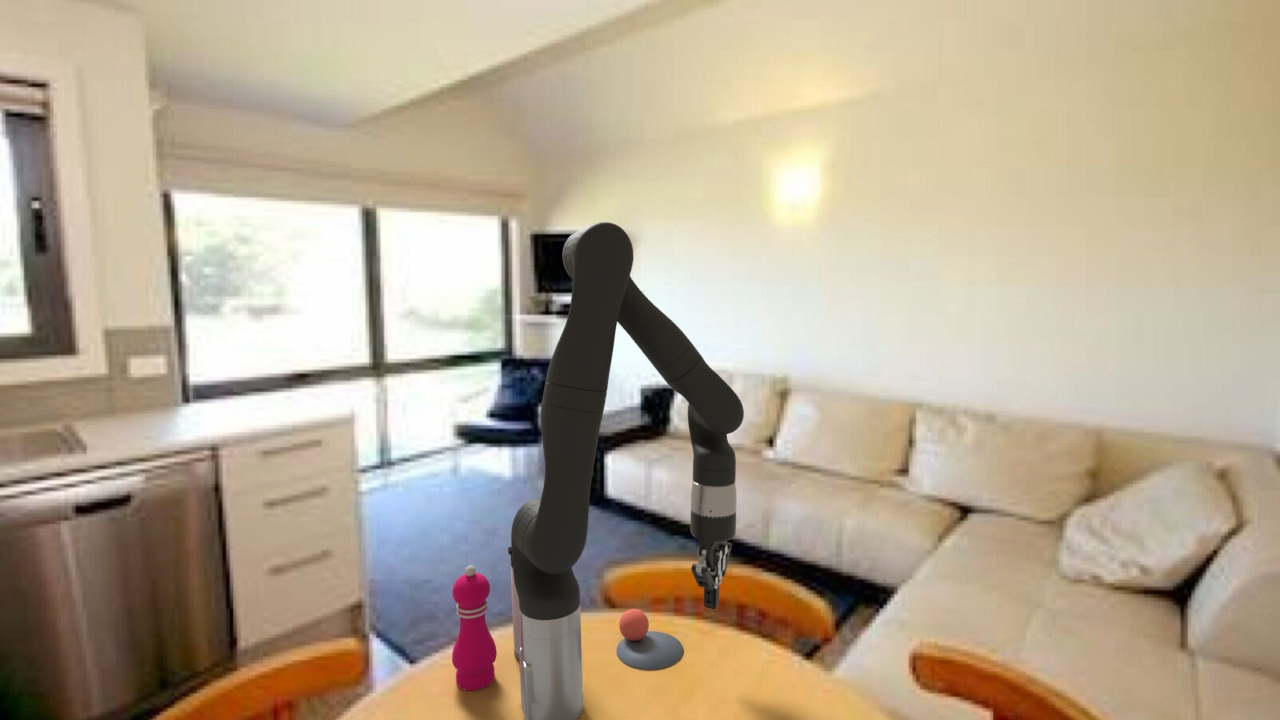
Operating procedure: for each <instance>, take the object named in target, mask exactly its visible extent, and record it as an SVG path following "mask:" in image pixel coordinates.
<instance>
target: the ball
mask: <svg viewBox="0 0 1280 720" xmlns="http://www.w3.org/2000/svg"><path fill="white" fill-rule="evenodd" d="M649 626H650V623H649V619H648V616H647V615H646V613H644V612H643V611H642V610H640V609H637V608H630V609H627V610H626V611H625V612H623V613H622V615H621V616H620V618H619V624H618V627H619V631H620V634H621V635H622V636H623V637H624V638H626V639H628V640H630V641H637V640H640V639H642V638H643V637H644V636H645V635H646V633H647V631H649V629H650V628H649Z"/></svg>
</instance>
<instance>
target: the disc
mask: <svg viewBox="0 0 1280 720" xmlns="http://www.w3.org/2000/svg"><path fill="white" fill-rule="evenodd" d="M615 652H616V657H618V659H619V661H621V662H622V663H623V664H625V665H626V666H628V667H630V668H633V669H637V670H641V671H642V670H643V671H654V670H655V671H656V670H662V669H665V668H669V667H671V666H673V665H675V664H676V663H678V662H679V660H680V659H682V656H683V654H684V646H683V644H682V643H681V642H680V640H679V639H678V638H676V637H675V636H673V635H671V634H668V633H665V632H661V631H656V630H648V631H647V633H646V635H645V636H644V637H643V638H642V639H640V640H637V641H630V640H628V639H626V638H625V637H624V638H622V639H621V640H620V641H619V643H618V644H617V646H616V651H615Z"/></svg>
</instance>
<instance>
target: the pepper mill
mask: <svg viewBox="0 0 1280 720" xmlns="http://www.w3.org/2000/svg"><path fill="white" fill-rule="evenodd" d="M476 569H477V568H476V567H475V566H474V565H468V566H466V567H465V569H464V574H462V575H461V576H459V577H458V578H457V579H456V580H455V581H454V584H453V585H452V586H453V587H452V592H451V593H452V598H453V600H454V602H455V603H457V604H456V607H455V608H456V615H457V616H458V617H459V631H458V635H457V638H456V640H455V643H454V644H453V645H454V646H453V649H452V652H451V653H452V654H451V655H452V656H451V663H452V665H453V667H454V668H455V669H456V672H455V679H456V681H455V682H456V685H457V686H458V687H459V689H461V690H464V691H468V692H469V691H471V692H473V691H479V690H482V689H485V688H486V687H488V686H489V685H491V684H492V683H493V681H494V680H495V678H496V676H495V675H496V674H495V671H496V670H495V665H494V662H495V661H496V659H497V645H496V642H495V640H494V638H493V635H492V634H491V633H490V630H489V628H488V625H487V621H486V613H487V611H488V610H489V607H488V604H489V603H488V600H487V599H488V598H489V596H490V592H491V584H490V582H489V579H488V578H487V576H485V575H484V574H482V573H479V572H477V570H476Z"/></svg>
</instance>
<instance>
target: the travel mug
mask: <svg viewBox="0 0 1280 720" xmlns="http://www.w3.org/2000/svg"><path fill="white" fill-rule="evenodd" d="M507 553H508V555H510V578H511V581H510V583H511V604H512V605H511V608H512V609H511V610H512V629H513V630H512V633H513V653H514V656H515V657H516V658H517V659H518V660H520V659H519V648H521V636H520V611H519V598H518V594H517V591H516V587H515V583H514V574H513V560H512V546H510V547H508V548H507Z"/></svg>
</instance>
